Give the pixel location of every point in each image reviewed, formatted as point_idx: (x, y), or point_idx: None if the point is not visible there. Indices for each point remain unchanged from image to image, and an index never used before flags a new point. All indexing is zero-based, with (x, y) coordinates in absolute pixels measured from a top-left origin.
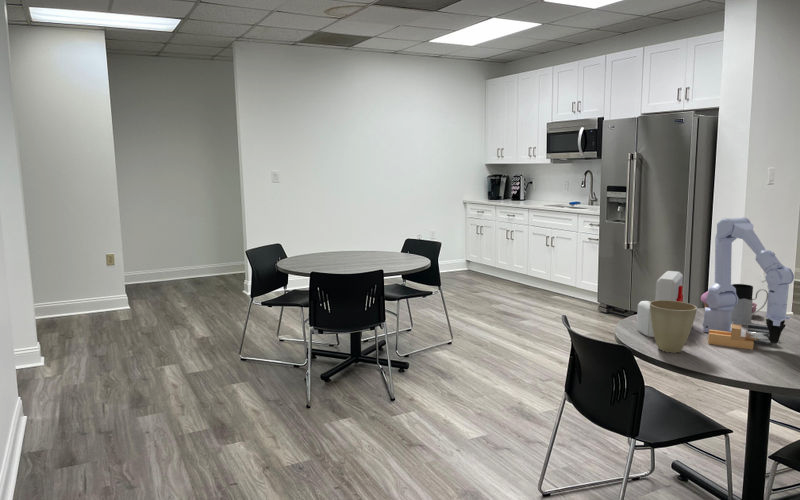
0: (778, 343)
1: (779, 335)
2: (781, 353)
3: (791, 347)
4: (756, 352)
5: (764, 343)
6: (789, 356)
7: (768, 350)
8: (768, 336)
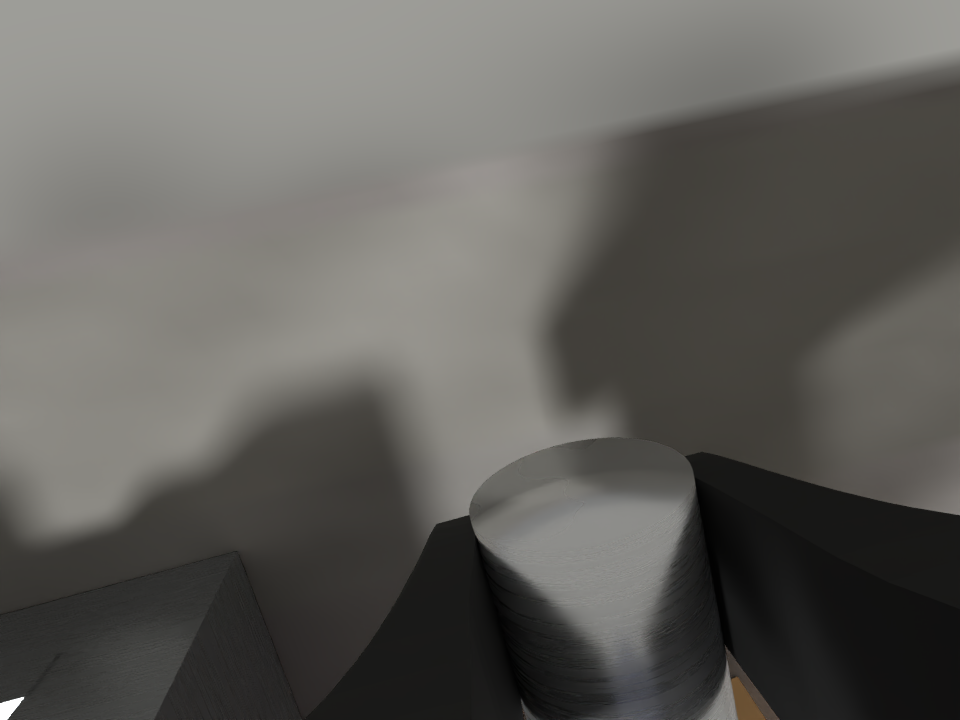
0: (588, 443)
1: (867, 508)
2: (680, 310)
3: (128, 263)
4: None
5: (274, 660)
6: (785, 163)
7: None
8: (725, 698)
